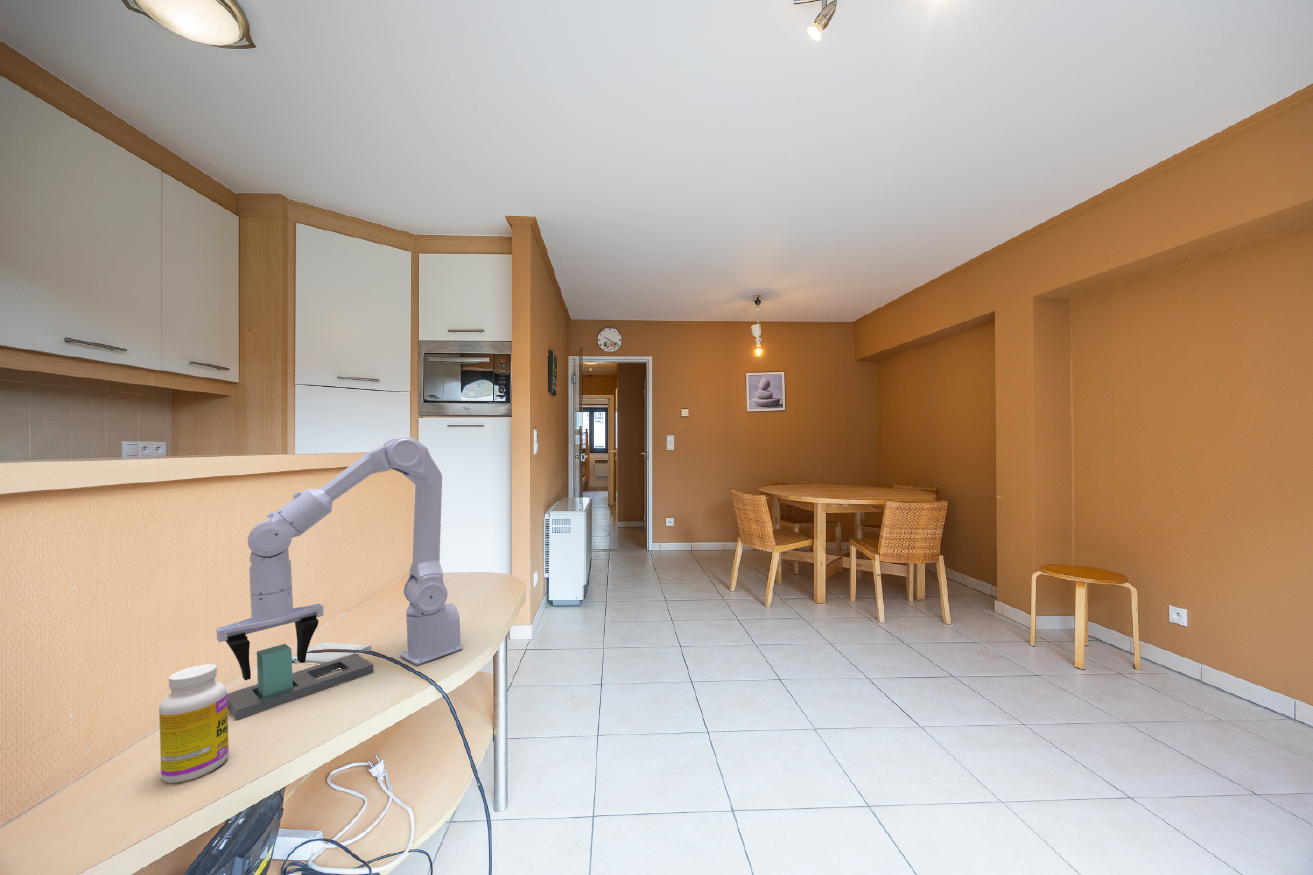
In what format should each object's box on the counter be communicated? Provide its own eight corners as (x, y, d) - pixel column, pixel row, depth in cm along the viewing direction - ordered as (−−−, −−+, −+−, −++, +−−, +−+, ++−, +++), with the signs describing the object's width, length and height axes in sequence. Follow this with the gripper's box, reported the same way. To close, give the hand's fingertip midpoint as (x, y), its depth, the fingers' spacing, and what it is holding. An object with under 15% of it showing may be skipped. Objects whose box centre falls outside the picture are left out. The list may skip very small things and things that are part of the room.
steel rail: (355, 660, 99) (355, 653, 99) (373, 672, 94) (373, 664, 94) (224, 703, 84) (224, 694, 84) (236, 720, 78) (235, 710, 78)
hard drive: (287, 657, 100) (337, 660, 97) (324, 641, 108) (371, 643, 105) (288, 665, 100) (337, 669, 97) (324, 648, 108) (371, 651, 105)
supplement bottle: (226, 770, 66) (222, 672, 66) (155, 793, 62) (152, 688, 62) (231, 747, 71) (228, 656, 71) (167, 766, 67) (164, 670, 67)
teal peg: (286, 688, 89) (284, 643, 89) (293, 695, 86) (291, 648, 86) (258, 698, 86) (256, 651, 86) (264, 705, 83) (262, 656, 83)
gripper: (313, 577, 94) (316, 649, 94) (211, 597, 83) (215, 679, 83) (325, 582, 90) (329, 658, 90) (219, 605, 79) (223, 691, 79)
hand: (275, 669), depth 86 cm, fingers open, 7 cm apart
